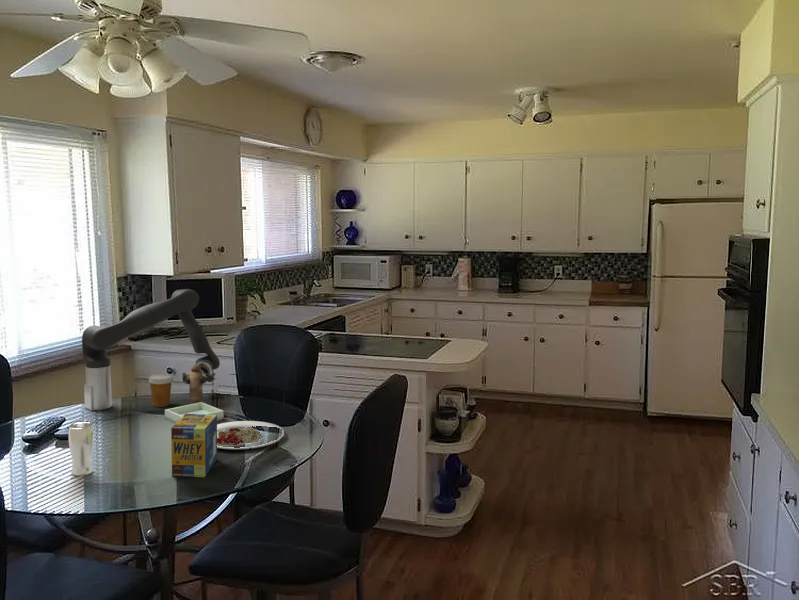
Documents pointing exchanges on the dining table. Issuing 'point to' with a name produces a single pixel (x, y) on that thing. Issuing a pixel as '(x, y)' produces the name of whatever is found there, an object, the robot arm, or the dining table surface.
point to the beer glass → (81, 447)
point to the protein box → (194, 445)
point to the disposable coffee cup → (160, 389)
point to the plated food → (242, 433)
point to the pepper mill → (195, 384)
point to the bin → (192, 411)
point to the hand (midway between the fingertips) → (194, 381)
